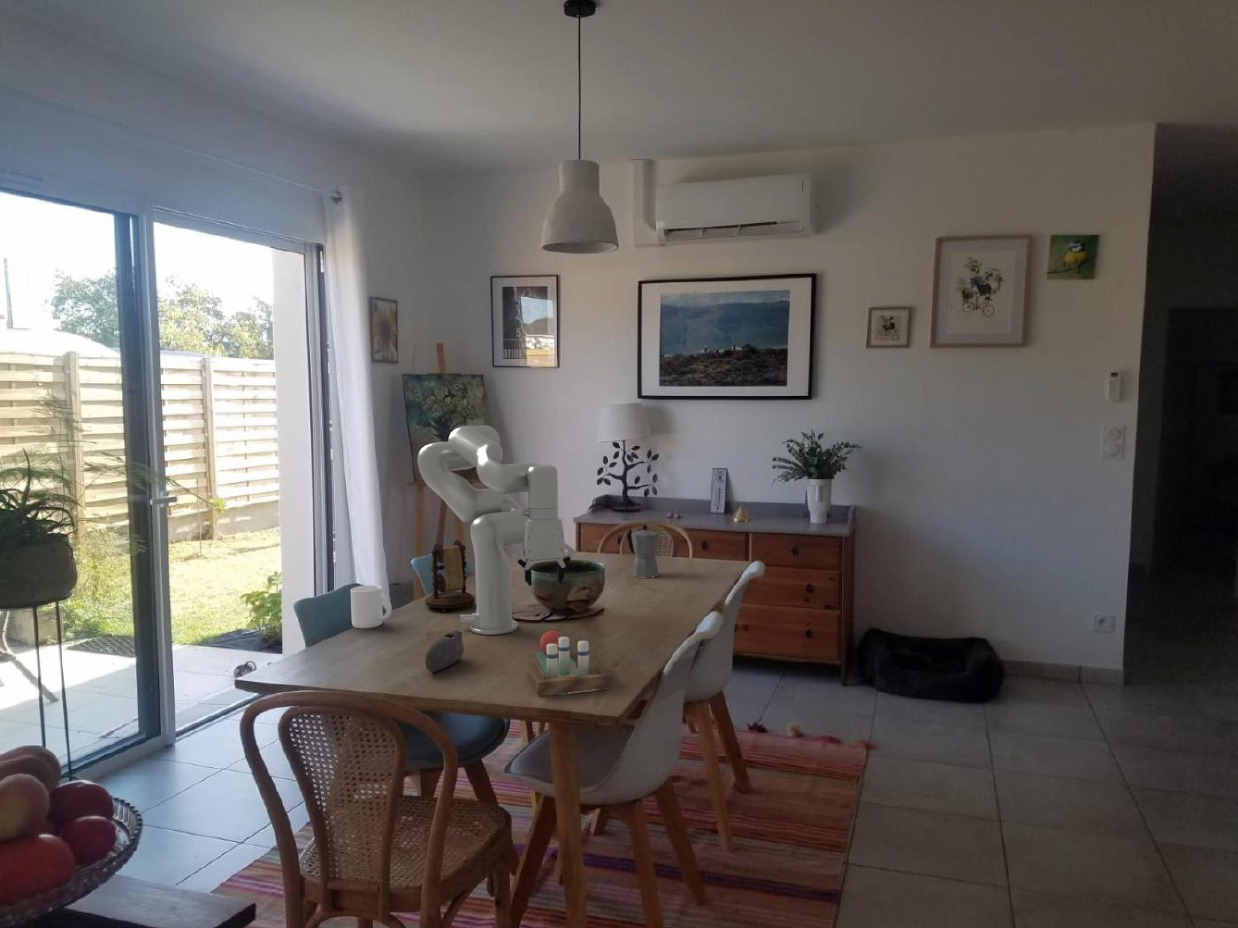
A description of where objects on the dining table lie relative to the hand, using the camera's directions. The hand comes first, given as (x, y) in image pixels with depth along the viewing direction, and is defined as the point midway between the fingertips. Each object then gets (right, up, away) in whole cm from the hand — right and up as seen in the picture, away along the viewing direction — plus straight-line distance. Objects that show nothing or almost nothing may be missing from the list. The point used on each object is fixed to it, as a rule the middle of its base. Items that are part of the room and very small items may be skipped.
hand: (544, 582), depth 211 cm
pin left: (+4, -18, -27) cm, 33 cm away
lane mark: (+6, -17, -20) cm, 27 cm away
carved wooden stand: (-32, -13, +40) cm, 53 cm away
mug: (-50, -15, +21) cm, 56 cm away
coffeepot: (+27, -9, +80) cm, 85 cm away
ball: (+3, -13, -8) cm, 16 cm away
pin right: (+11, -18, -25) cm, 33 cm away
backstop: (+8, -18, -27) cm, 33 cm away
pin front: (+6, -18, -22) cm, 29 cm away
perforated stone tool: (-22, -18, -15) cm, 32 cm away
